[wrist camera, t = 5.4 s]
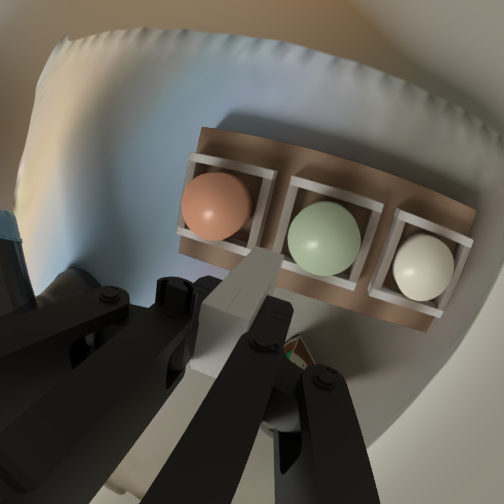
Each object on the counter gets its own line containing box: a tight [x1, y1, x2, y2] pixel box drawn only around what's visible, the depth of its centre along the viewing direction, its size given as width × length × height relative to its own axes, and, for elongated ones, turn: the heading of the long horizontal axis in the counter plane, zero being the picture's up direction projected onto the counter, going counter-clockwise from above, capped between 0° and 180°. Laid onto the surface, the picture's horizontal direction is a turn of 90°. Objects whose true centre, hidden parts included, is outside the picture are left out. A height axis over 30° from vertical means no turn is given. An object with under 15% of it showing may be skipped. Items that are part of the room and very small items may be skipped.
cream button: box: [391, 232, 454, 301], centre depth 23 cm, size 6×6×2 cm
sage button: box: [288, 201, 361, 276], centre depth 24 cm, size 6×6×2 cm
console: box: [176, 127, 476, 332], centre depth 27 cm, size 29×14×5 cm, turn 77°
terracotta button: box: [181, 172, 252, 241], centre depth 26 cm, size 6×6×2 cm
